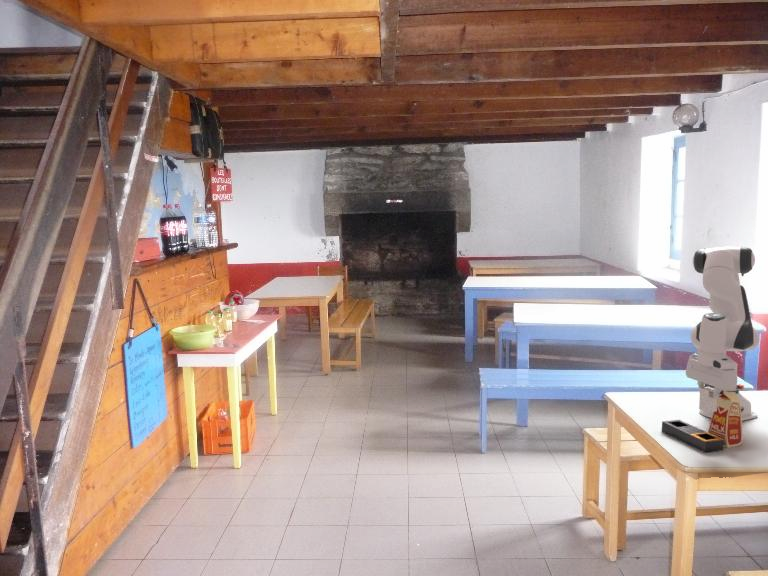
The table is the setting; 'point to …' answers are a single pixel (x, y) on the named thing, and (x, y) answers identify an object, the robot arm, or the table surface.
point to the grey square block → (707, 400)
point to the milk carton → (727, 420)
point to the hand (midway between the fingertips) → (708, 396)
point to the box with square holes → (693, 436)
